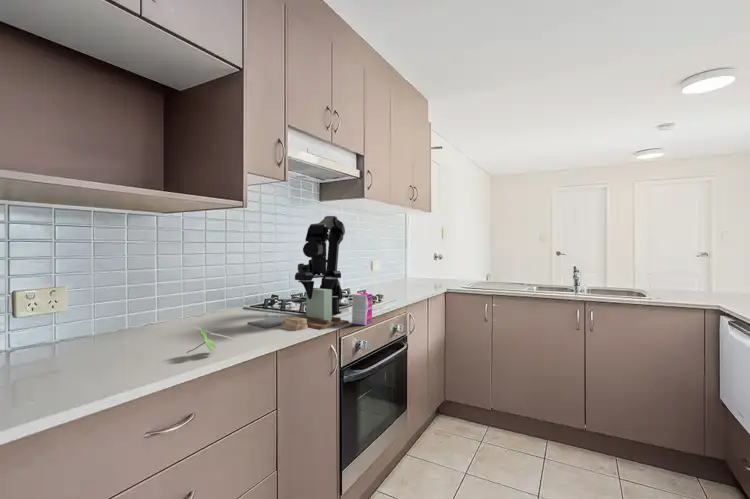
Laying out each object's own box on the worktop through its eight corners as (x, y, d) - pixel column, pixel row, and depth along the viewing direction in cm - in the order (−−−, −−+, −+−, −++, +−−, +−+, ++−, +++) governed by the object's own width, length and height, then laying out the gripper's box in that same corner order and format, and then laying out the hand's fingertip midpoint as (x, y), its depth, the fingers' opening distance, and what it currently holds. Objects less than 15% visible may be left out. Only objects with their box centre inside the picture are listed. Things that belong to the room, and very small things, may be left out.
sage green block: (314, 318, 150) (314, 287, 150) (331, 321, 144) (331, 289, 144) (306, 319, 147) (306, 288, 147) (324, 323, 141) (323, 290, 141)
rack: (317, 317, 157) (317, 311, 157) (348, 323, 145) (348, 316, 145) (289, 323, 146) (289, 316, 146) (321, 329, 134) (321, 322, 134)
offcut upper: (293, 322, 141) (293, 316, 141) (306, 324, 136) (306, 318, 136) (285, 323, 137) (285, 318, 137) (297, 326, 133) (297, 320, 133)
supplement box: (365, 326, 140) (365, 295, 140) (351, 325, 142) (351, 294, 142) (372, 323, 145) (372, 293, 145) (358, 322, 147) (358, 292, 147)
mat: (278, 318, 155) (278, 317, 155) (297, 322, 148) (297, 320, 148) (247, 323, 145) (247, 322, 145) (265, 328, 137) (265, 326, 137)
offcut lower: (293, 327, 141) (293, 321, 141) (307, 330, 136) (307, 324, 136) (282, 329, 138) (282, 323, 138) (296, 332, 132) (296, 326, 132)
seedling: (199, 368, 106) (220, 354, 107) (184, 360, 99) (207, 345, 101) (190, 347, 109) (211, 334, 111) (175, 338, 103) (198, 324, 104)
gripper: (322, 256, 158) (322, 294, 158) (285, 257, 144) (285, 298, 144) (342, 256, 151) (342, 296, 151) (304, 257, 136) (304, 301, 136)
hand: (318, 298), depth 146 cm, fingers open, 8 cm apart
